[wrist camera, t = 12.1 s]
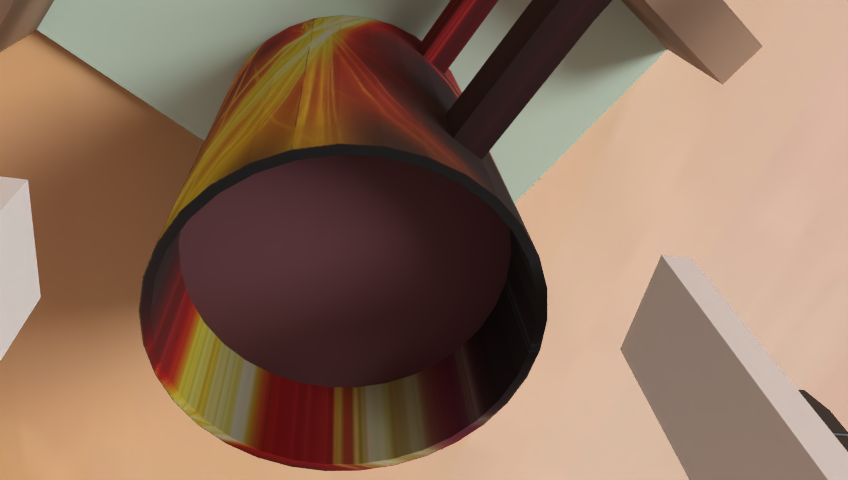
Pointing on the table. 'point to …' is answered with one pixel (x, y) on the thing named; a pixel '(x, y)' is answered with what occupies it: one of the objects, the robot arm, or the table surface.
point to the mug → (356, 243)
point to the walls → (652, 3)
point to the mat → (391, 3)
